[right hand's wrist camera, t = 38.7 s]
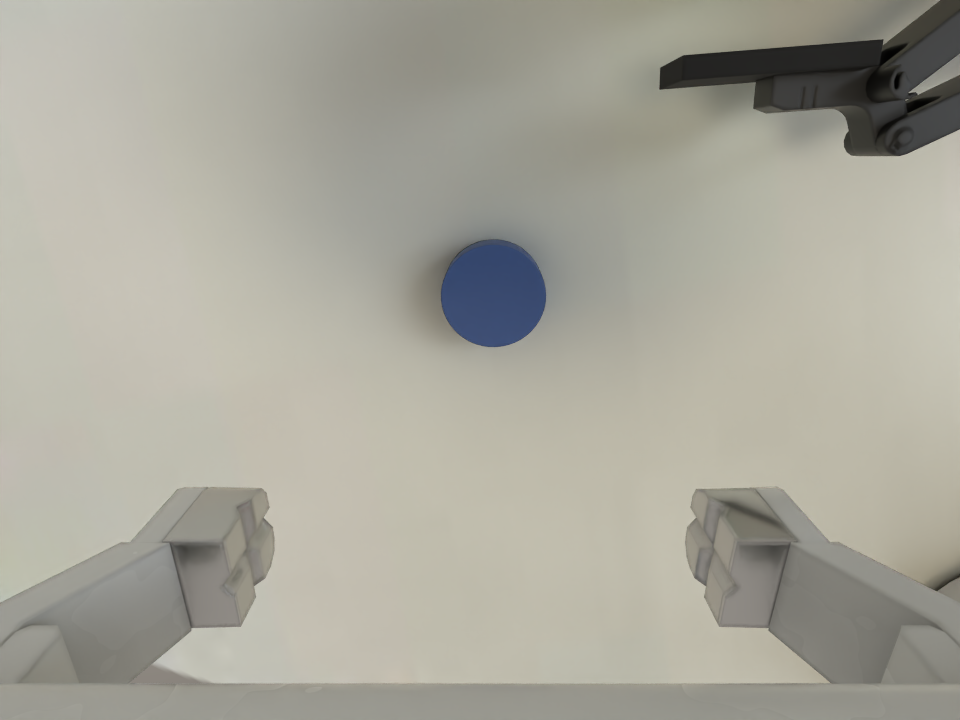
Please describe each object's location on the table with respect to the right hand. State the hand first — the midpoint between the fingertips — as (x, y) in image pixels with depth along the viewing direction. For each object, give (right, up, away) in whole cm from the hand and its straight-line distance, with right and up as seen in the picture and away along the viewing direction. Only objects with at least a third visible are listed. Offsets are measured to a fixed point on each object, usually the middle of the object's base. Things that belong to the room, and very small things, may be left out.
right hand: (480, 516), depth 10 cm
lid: (+1, +6, +17) cm, 19 cm away
